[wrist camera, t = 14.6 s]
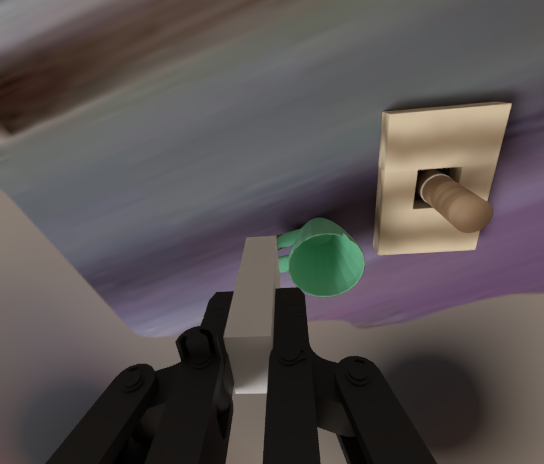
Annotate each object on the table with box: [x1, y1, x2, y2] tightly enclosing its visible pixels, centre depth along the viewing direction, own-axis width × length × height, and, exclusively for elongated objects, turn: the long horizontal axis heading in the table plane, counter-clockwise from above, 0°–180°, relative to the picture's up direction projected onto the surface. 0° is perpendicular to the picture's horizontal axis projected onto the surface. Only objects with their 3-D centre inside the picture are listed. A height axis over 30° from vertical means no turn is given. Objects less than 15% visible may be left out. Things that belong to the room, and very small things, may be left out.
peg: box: [415, 169, 493, 233], centre depth 38 cm, size 4×4×12 cm
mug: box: [276, 217, 365, 297], centre depth 44 cm, size 15×10×10 cm
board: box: [373, 102, 512, 255], centre depth 42 cm, size 20×14×3 cm
